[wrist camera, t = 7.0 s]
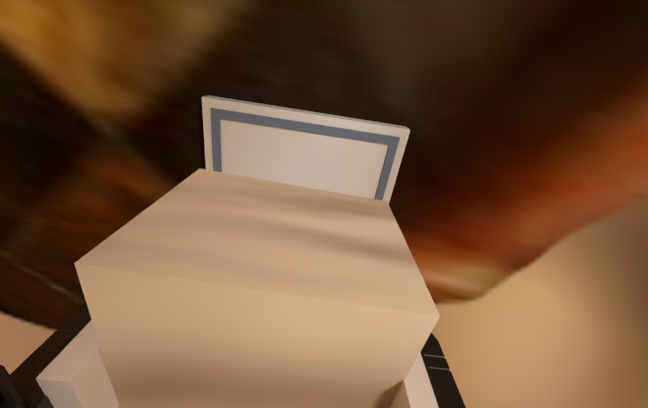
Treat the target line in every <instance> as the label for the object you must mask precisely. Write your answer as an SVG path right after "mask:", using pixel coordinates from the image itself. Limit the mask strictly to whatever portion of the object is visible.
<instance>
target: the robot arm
mask: <svg viewBox="0 0 648 408" xmlns="http://www.w3.org/2000/svg"><path fill="white" fill-rule="evenodd" d="M118 407H119V403H118V400H117V398H116V395H115V392H114V390H113V387H112V384H111V381H110V378H109V375H108V372H107V368H106V365H105V362H104V359H103V355H102V352H101V349H100V346H99V342H98V339H97V336H96V332H95V329H94V326H93V323H92V319H91V316H90V313H89V310H88V306H87V303H85V304H84V305H83V306H82V307H81V308H80V309H79V310H77V311H76V312H75V313H74V314H73V315H72V316H71V319H68V320H67V321H66V322H65V323H64V324H63V325H62V326H61V327H60V328H59V330H58V331H55V332H54V333H53V334H52V335H51V336H50V337H49V338H48V339H47V340H46V341H45V342H44V343H43V344H42V345H41V346H40V347H39V348H38V349H37V350H35V351H34V352H33V353H32V354H31V355H30V356H29V357H28V358H27V359H26V360H25V361H24V362H23V363H22V364H21V365H20V366H19V367H18V368H17V369H16V370H15V371H13V372H12V373H11V374H10V375H9V374H8V372H7V371H6V369H5V367H4V366H2V365H0V408H118ZM390 408H466V407H465V405H464V403H463V400H462V398H461V395H460V393H459V390H458V388H457V386H456V383H455V381H454V378H453V376H452V373H451V372H450V371H449V366H448V364H447V361H446V359H444V354H443V352H442V349H441V347H440V344H439V342H438V340H437V339H436V338H435V337H434V335H433V334H432V333H431V334H430V335H429V337H428V339H427V341H426V343H425V345H424V346H423V348H422V350H421V352H420V354H419V355H418V357H417V359H416V361H415V363H414V365H413V366H412V368H411V370H410V372H409V374H408V375H407V377H406V379H405V380H403V382H402V384H401V386H400V388H399V390H398V392H397V394H396V396H395V398H394V400H393V403H392V405H391V406H390Z"/></svg>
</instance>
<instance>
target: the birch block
mask: <svg viewBox="0 0 648 408" xmlns="http://www.w3.org/2000/svg"><path fill="white" fill-rule="evenodd" d="M74 264H75V267H76V270H77V274H78V277H79V280H80V283H81V287H82V290H83V293H84V296H85V300H86V303H87V306H88V310H89V313H90V316H91V319H92V323H93V326H94V329H95V332H96V336H97V339H98V342H99V346H100V349H101V352H102V355H103V359H104V362H105V365H106V368H107V372H108V375H109V378H110V381H111V384H112V387H113V390H114V392H115V395H116V398H117V400H118V403H119V407H118V408H390V406H391V405H392V403H393V400H394V398H395V396H396V394H397V392H398V390H399V388H400V386H401V384H402V382H403V380H405V379H406V377H407V375H408V374H409V372H410V370H411V368H412V366H413V365H414V363H415V361H416V359H417V357H418V355H419V354H420V352H421V350H422V348H423V346H424V345H425V343H426V341H427V339H428V337H429V335H430V334H431V332H432V330H433V328H434V326H435V324H436V323H437V321H438V319H439V317H440V315H439V313H438V310H437V308H436V306H435V304H434V302H433V300H432V297H431V295H430V293H429V291H428V289H427V287H426V284H425V282H424V280H423V278H422V276H421V274H420V271H419V269H418V267H417V265H416V263H415V261H414V258H413V256H412V254H411V252H410V250H409V248H408V246H407V243H406V241H405V239H404V237H403V235H402V233H401V230H400V228H399V226H398V224H397V222H396V220H395V217H394V215H393V213H392V211H391V209H390V207H389V204H388V202H387V201H382V200H376V199H371V198H365V197H359V196H353V195H348V194H342V193H336V192H331V191H325V190H319V189H313V188H308V187H302V186H296V185H291V184H285V183H279V182H274V181H268V180H262V179H256V178H251V177H245V176H239V175H234V174H228V173H222V172H216V171H211V170H205V169H198V170H197V171H196V172H194V173H193V174H192V175H190V176H189V177H188V178H186V179H185V180H184V181H182V182H181V183H180V184H178V185H177V186H176V187H175V188H173V189H172V190H171V191H169V192H168V193H167V194H165V195H164V196H163V197H161V198H160V199H159V200H157V201H156V202H155V203H153V204H152V205H151V206H149V207H148V208H147V209H145V210H144V211H143V212H141V213H140V214H139V215H137V216H136V217H135V218H133V219H132V220H131V221H129V222H128V223H127V224H125V225H124V226H123V227H121V228H120V229H119V230H118V231H116V232H115V233H114V234H112V235H111V236H110V237H108V238H107V239H106V240H104V241H103V242H102V243H100V244H99V245H98V246H96V247H95V248H94V249H92V250H91V251H90V252H88V253H87V254H86V255H84V256H83V257H82V258H80V259H79V260H78V261H76V262H75V263H74Z"/></svg>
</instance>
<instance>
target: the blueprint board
mask: <svg viewBox="0 0 648 408" xmlns="http://www.w3.org/2000/svg"><path fill="white" fill-rule="evenodd" d="M202 112H203V129H204V146H205V163H206V170H211V171H216V172H222V173H228V174H234V175H239V176H245V177H251V178H256V179H262V180H268V181H274V182H279V183H285V184H291V185H296V186H302V187H308V188H313V189H319V190H325V191H331V192H336V193H342V194H348V195H353V196H359V197H365V198H371V199H376V200H382V201H387V202H388V204H389V201H390V198H391V194H392V191H393V188H394V184H395V181H396V177H397V174H398V171H399V167H400V164H401V160H402V157H403V153H404V150H405V147H406V143H407V140H408V136H409V133H410V129H409V128H407V127H406V126H399V125H393V124H387V123H380V122H374V121H368V120H362V119H355V118H349V117H343V116H336V115H330V114H324V113H317V112H311V111H305V110H298V109H292V108H286V107H279V106H273V105H267V104H260V103H254V102H248V101H241V100H235V99H229V98H222V97H216V96H210V95H208V96H203V97H202Z"/></svg>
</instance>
